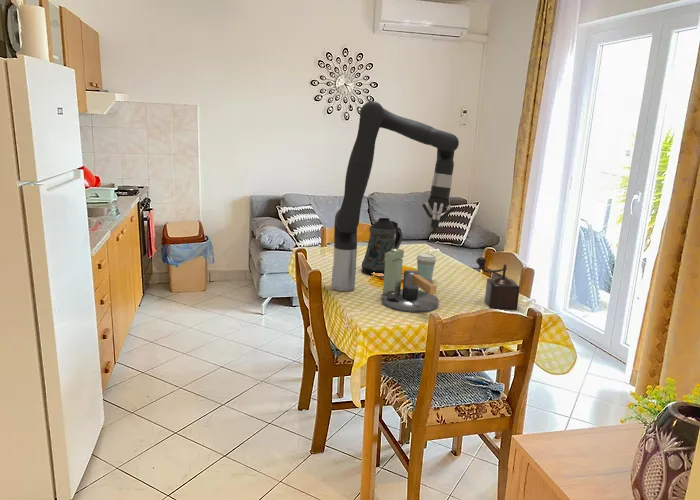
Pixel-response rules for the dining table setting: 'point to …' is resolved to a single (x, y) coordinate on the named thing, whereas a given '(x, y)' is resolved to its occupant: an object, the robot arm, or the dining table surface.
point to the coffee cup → (426, 265)
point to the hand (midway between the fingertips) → (434, 228)
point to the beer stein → (380, 245)
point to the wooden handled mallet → (416, 285)
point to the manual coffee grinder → (500, 289)
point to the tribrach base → (394, 292)
